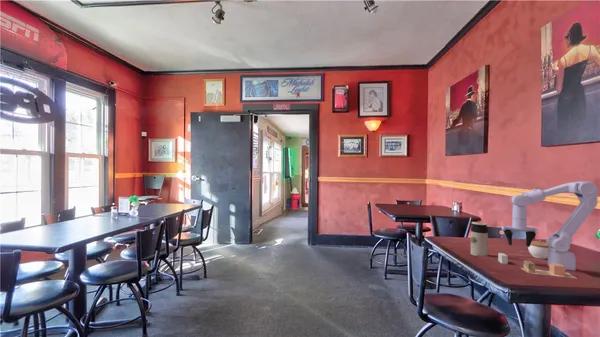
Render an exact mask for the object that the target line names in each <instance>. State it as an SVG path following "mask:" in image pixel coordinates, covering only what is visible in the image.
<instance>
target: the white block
mask: <svg viewBox="0 0 600 337" xmlns="http://www.w3.org/2000/svg"><path fill="white" fill-rule="evenodd" d="M508 256H509V255H507V254H505V253H504V252H498V254H497V259H498V260H497V261H498V262H499V263H500V264H503V265H508V264H509V263H508V262H509V261H508V259H509V258H508Z"/></svg>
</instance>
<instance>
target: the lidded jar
mask: <svg viewBox="0 0 600 337" xmlns="http://www.w3.org/2000/svg"><path fill="white" fill-rule="evenodd" d="M527 248H528V252H529V253H530V255H531V256H532V257H534V258H535V259H541V260H548V248H549V245H548V244H547V242H546V241H545V242H544V241H542V240H541V239H539V240H532V242H531V244H530V247H528V246H527Z"/></svg>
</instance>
